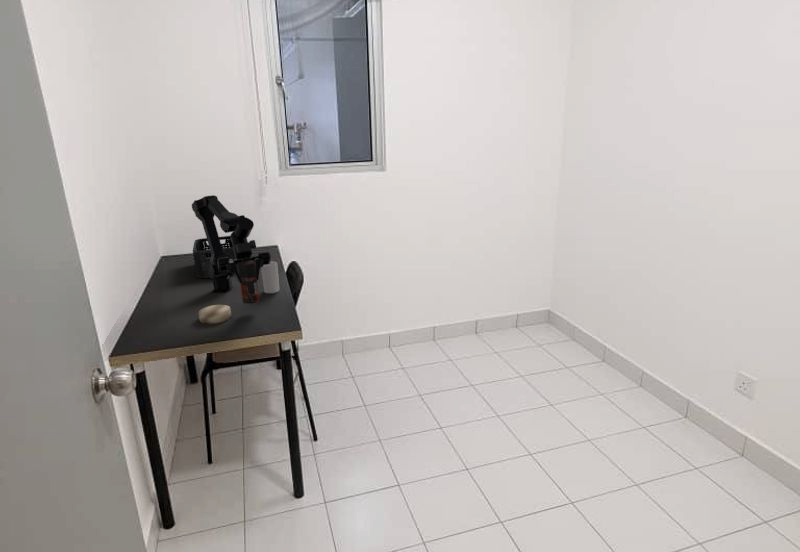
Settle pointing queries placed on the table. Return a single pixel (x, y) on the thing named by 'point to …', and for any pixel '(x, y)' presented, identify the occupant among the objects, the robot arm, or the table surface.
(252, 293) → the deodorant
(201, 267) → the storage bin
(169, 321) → the table surface
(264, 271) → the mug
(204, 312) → the beige round flatbread
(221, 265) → the robot arm
